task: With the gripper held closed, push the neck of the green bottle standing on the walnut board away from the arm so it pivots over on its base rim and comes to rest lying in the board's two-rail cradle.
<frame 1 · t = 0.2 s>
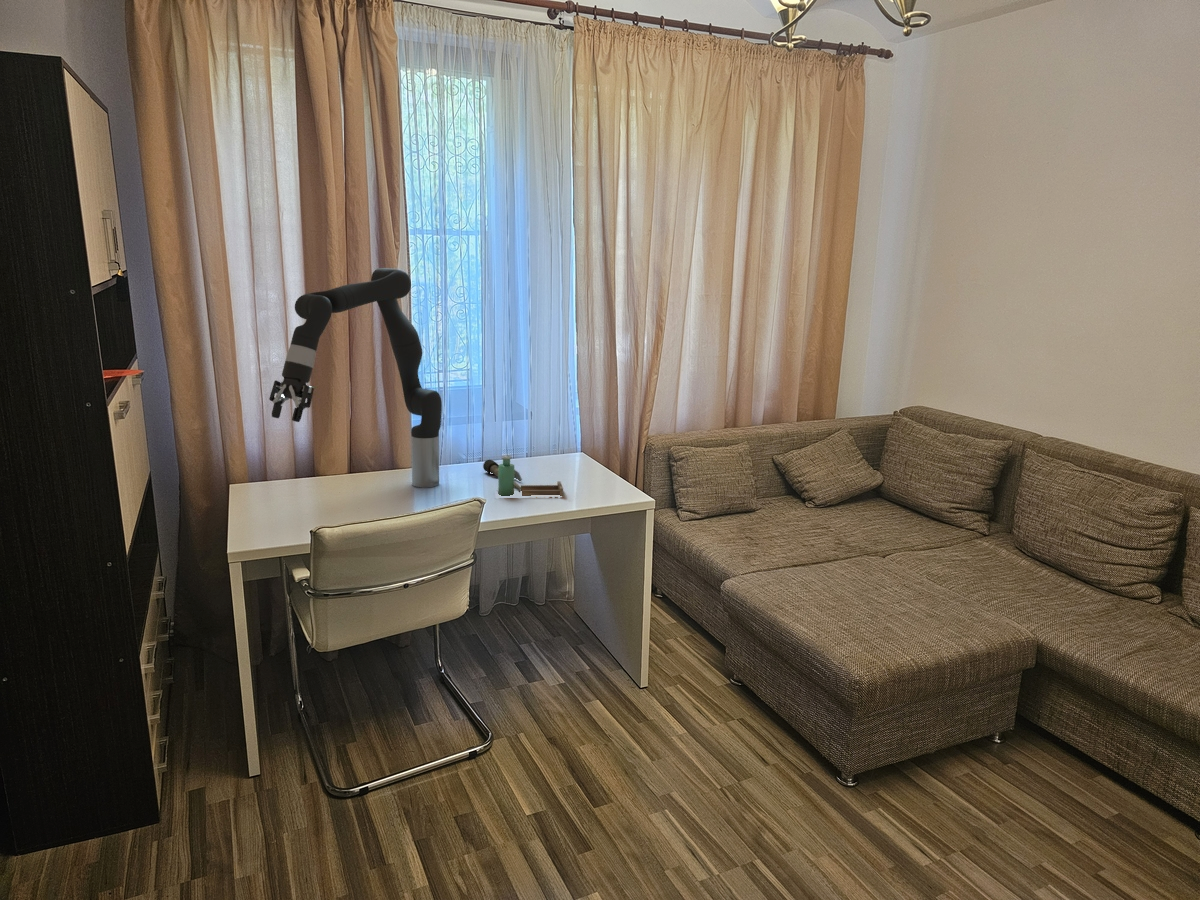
hand: (285, 419, 229), 31 cm above the table, tool tilted 20°, fingers open, 8 cm apart
bottle: (506, 494, 272), point 1 cm above the table, touching cradle
cradle: (527, 496, 273), on the table
wall sconce: (506, 481, 290), on the table, touching cradle
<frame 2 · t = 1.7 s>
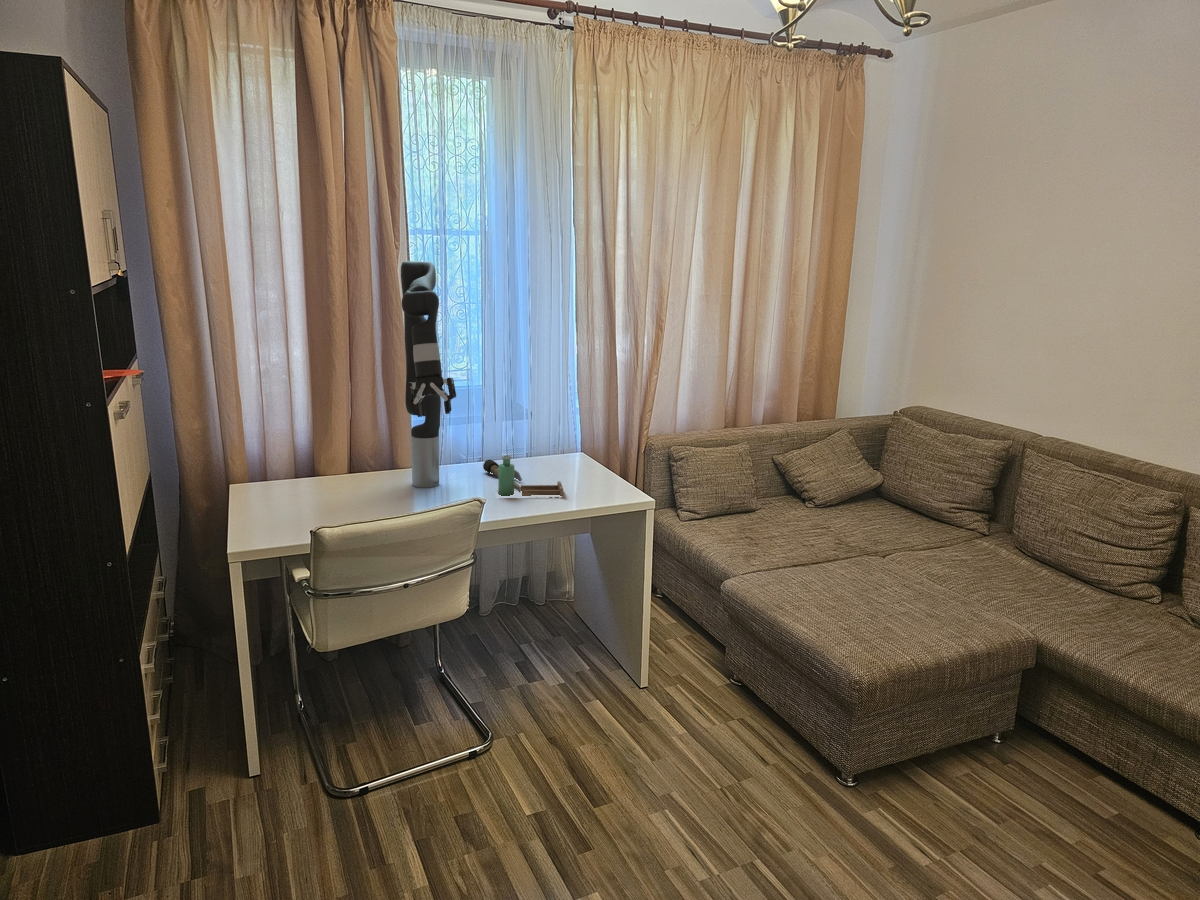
hand: (433, 415, 240), 32 cm above the table, tool pointing down, fingers open, 8 cm apart
nothing on the table moved.
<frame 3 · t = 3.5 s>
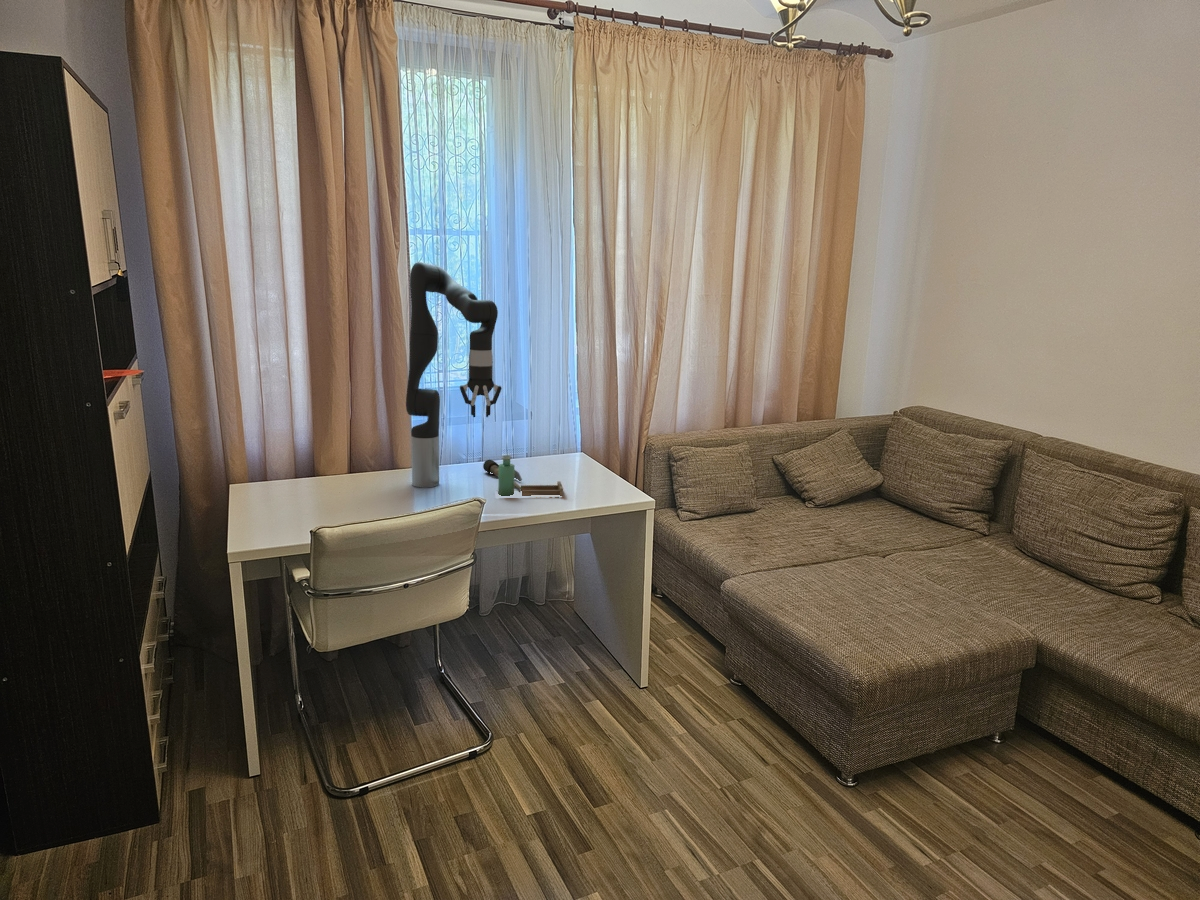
hand: (480, 416, 265), 27 cm above the table, tool pointing down, fingers open, 3 cm apart
nothing on the table moved.
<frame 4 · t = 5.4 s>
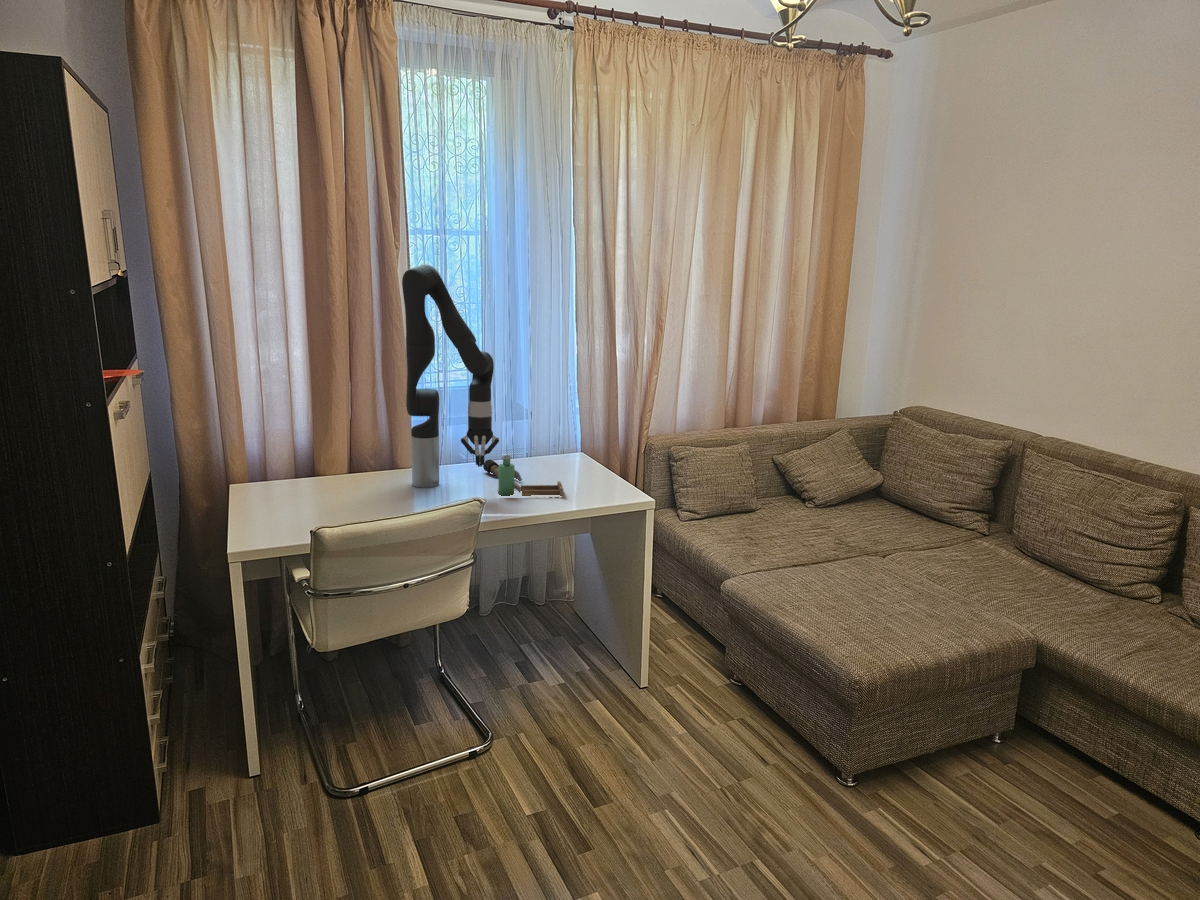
hand: (479, 466, 268), 11 cm above the table, tool pointing down, fingers closed
nothing on the table moved.
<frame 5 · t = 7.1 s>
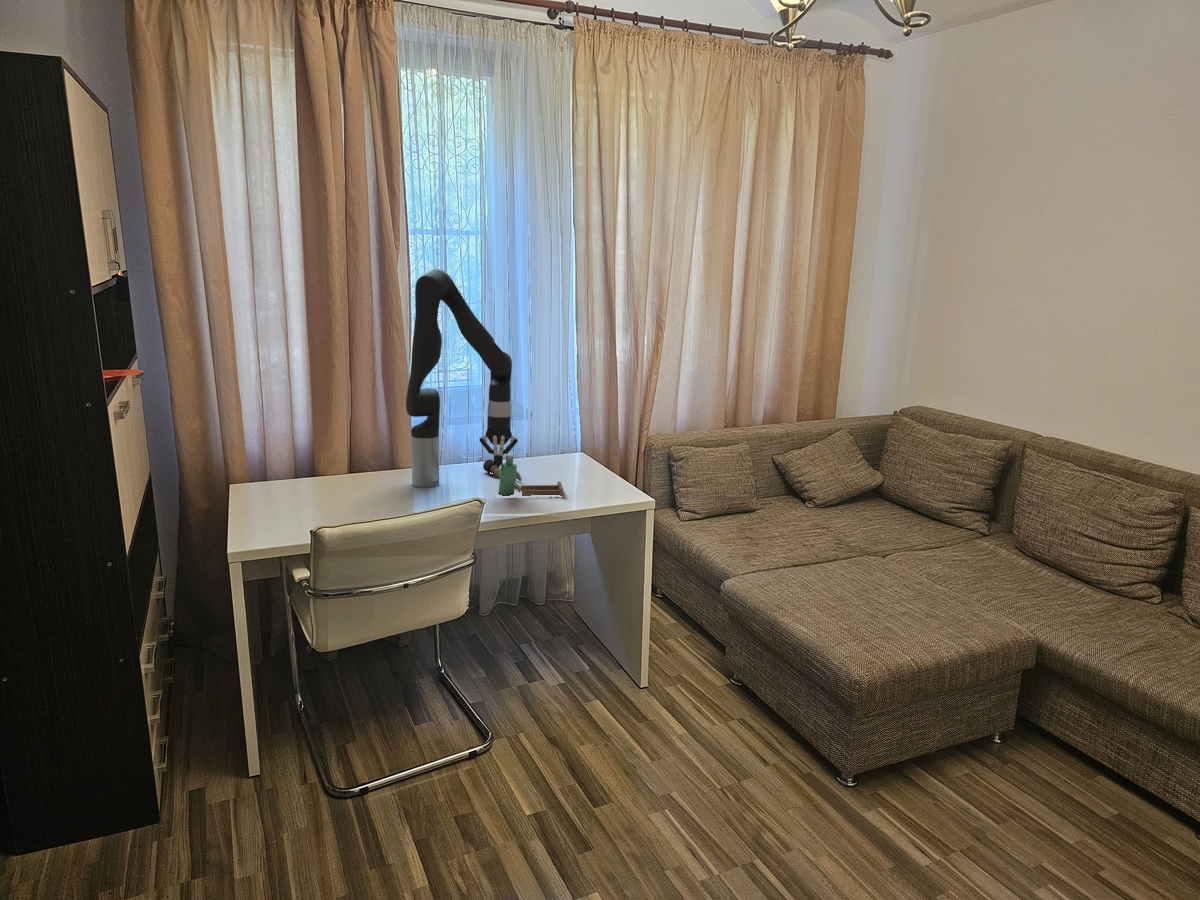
hand: (497, 465, 269), 11 cm above the table, tool pointing down, fingers closed
bottle: (506, 494, 272), point 1 cm above the table, touching cradle, gripper
everything else where it was.
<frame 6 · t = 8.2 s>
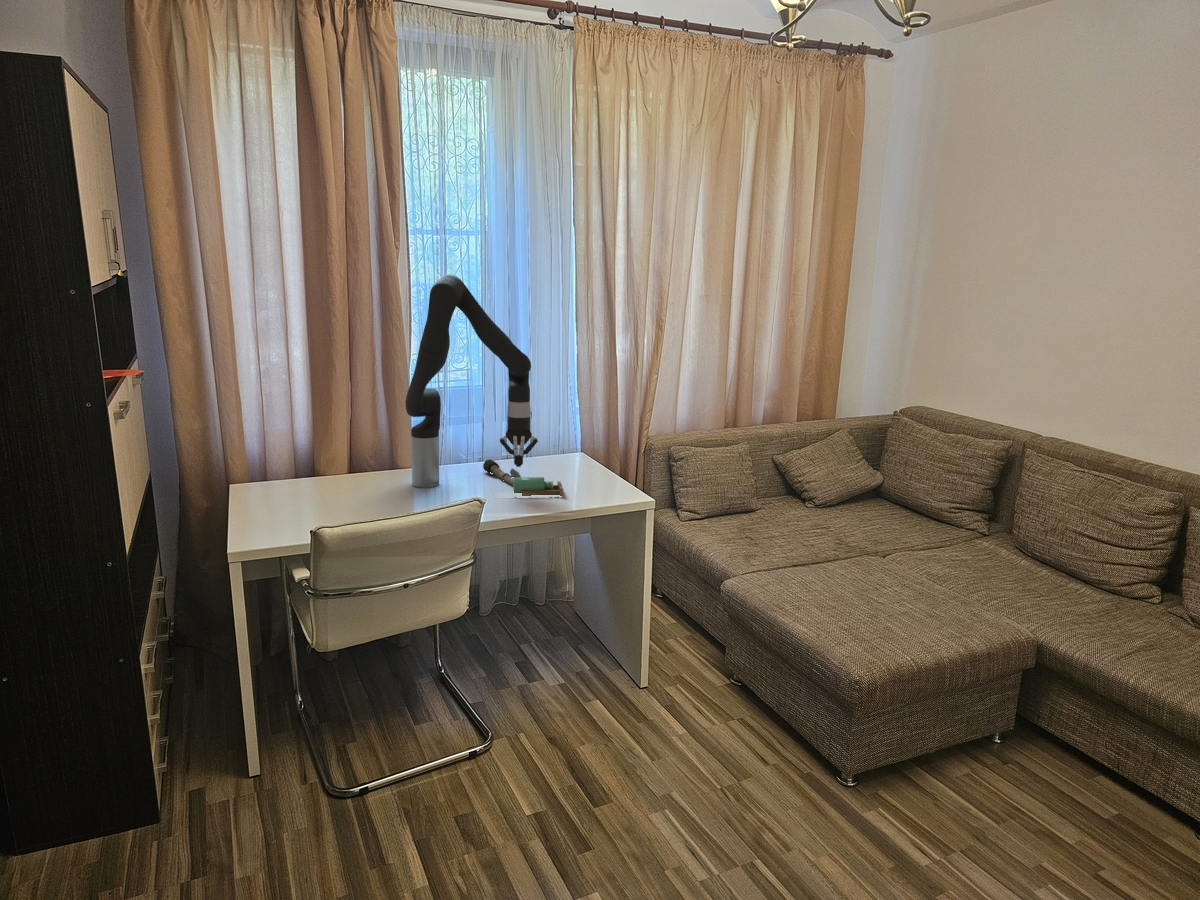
hand: (518, 466, 270), 11 cm above the table, tool pointing down, fingers closed
bottle: (513, 485, 272), point 4 cm above the table, tilted 90°, touching cradle
everything else where it was.
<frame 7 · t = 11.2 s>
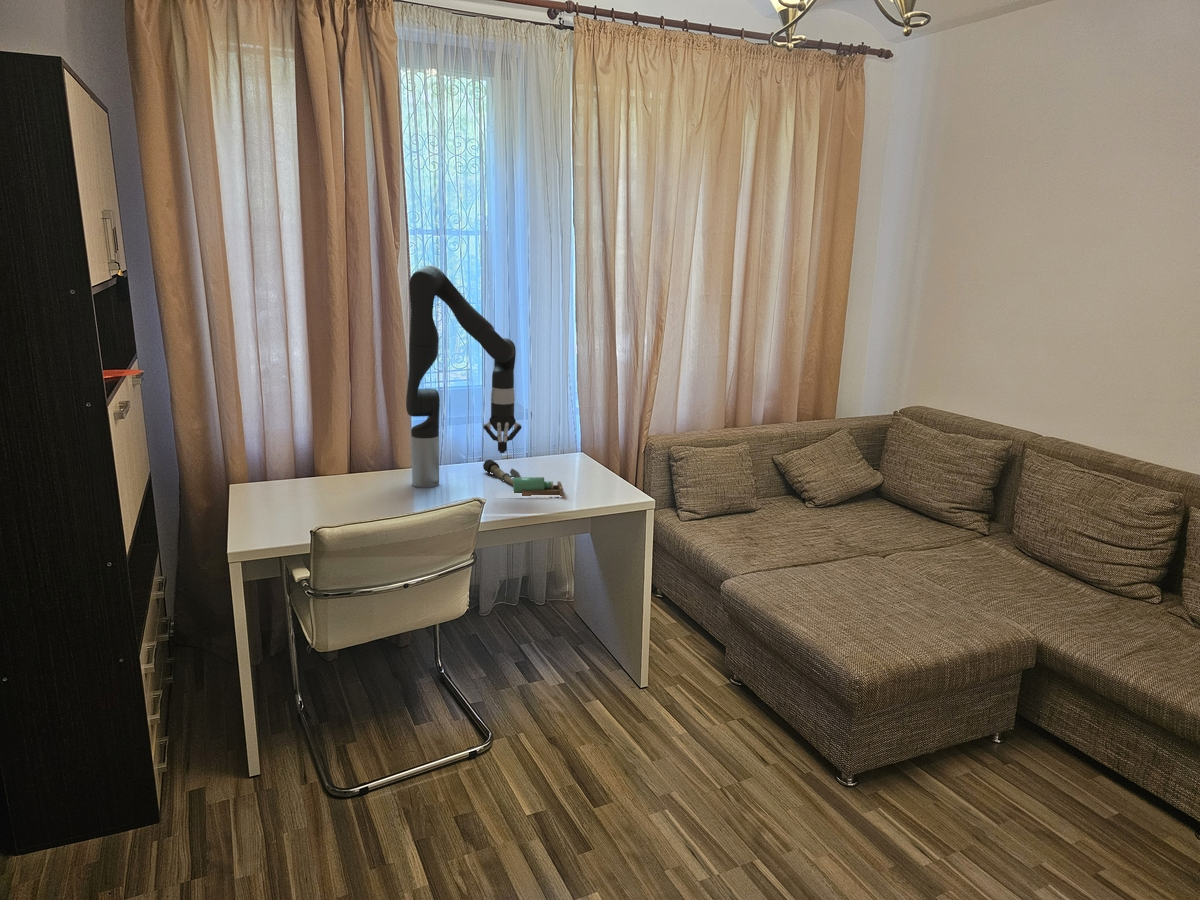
hand: (502, 452, 270), 15 cm above the table, tool pointing down, fingers closed
nothing on the table moved.
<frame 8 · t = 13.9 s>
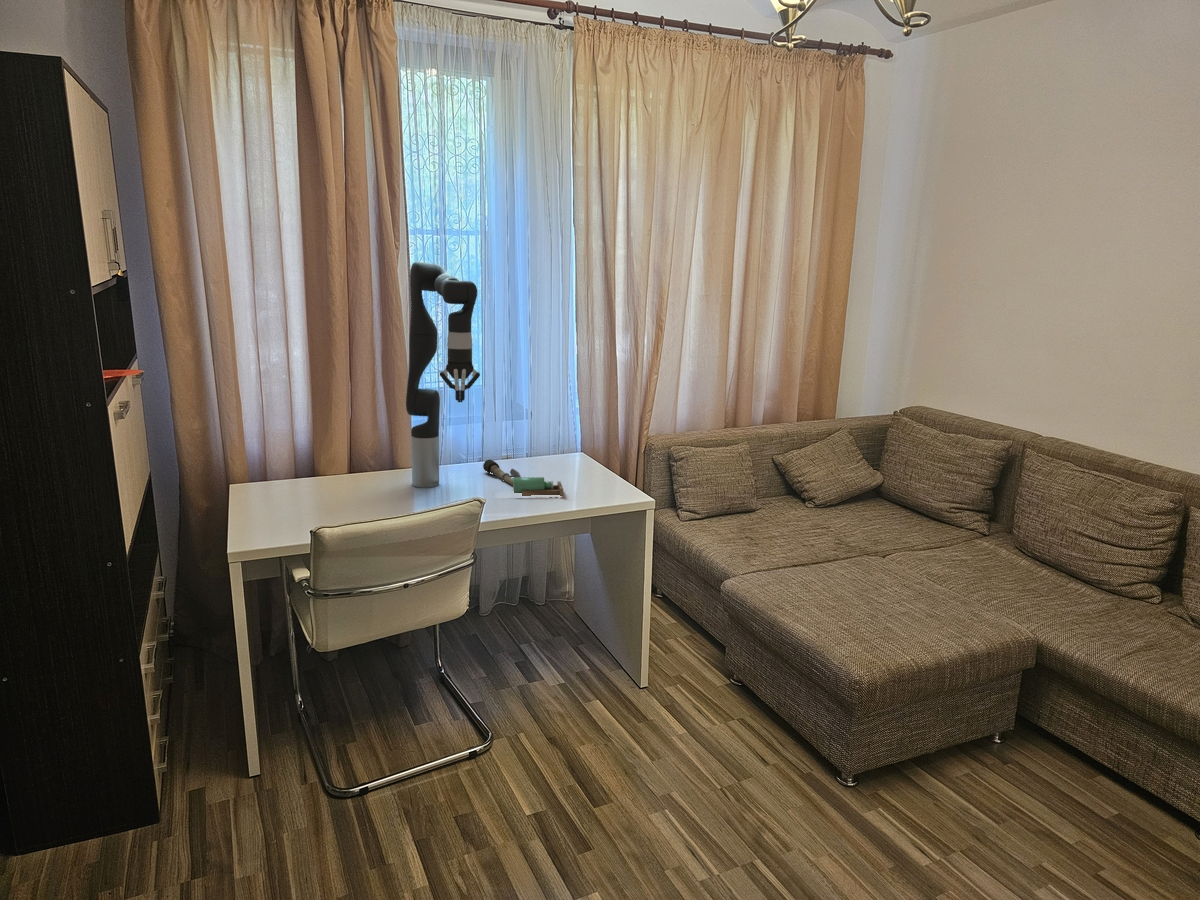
hand: (459, 401, 257), 33 cm above the table, tool pointing down, fingers closed
nothing on the table moved.
at the end: bottle tilted 90°; bottle touching cradle; bottle inside the target area (1.5 cm from its centre), point 4.0 cm above the table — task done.
